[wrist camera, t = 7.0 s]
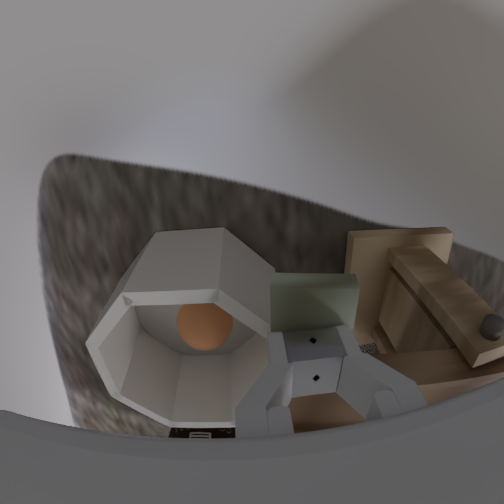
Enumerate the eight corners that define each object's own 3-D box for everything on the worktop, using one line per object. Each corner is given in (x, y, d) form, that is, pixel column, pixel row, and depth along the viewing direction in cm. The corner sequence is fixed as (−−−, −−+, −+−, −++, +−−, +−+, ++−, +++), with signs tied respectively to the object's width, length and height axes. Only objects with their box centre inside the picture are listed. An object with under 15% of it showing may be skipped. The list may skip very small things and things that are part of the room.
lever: (604, 270, 9) (631, 296, 6) (549, 382, 12) (565, 411, 10) (272, 272, 11) (263, 325, 9) (272, 417, 15) (267, 464, 12)
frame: (445, 227, 20) (552, 315, 10) (421, 325, 24) (485, 425, 13) (347, 230, 20) (439, 352, 9) (335, 338, 24) (381, 464, 13)
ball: (161, 298, 19) (208, 278, 21) (172, 341, 20) (214, 320, 22) (192, 325, 16) (242, 299, 18) (201, 370, 18) (246, 344, 20)
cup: (274, 224, 19) (292, 283, 13) (275, 350, 24) (286, 423, 17) (112, 235, 19) (65, 293, 13) (145, 355, 24) (126, 424, 17)
